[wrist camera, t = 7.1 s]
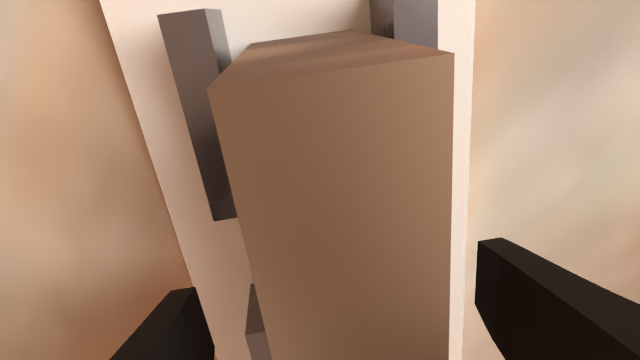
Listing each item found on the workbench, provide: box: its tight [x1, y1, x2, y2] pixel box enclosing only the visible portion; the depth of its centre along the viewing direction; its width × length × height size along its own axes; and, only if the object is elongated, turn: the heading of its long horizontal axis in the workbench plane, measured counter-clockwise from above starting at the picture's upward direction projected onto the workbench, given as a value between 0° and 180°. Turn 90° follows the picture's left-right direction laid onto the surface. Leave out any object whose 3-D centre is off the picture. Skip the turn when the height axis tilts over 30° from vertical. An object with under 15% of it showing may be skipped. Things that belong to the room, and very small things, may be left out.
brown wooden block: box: [207, 29, 455, 360], centre depth 10 cm, size 4×12×7 cm, turn 7°
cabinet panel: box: [99, 0, 476, 360], centre depth 14 cm, size 10×18×1 cm, turn 7°
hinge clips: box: [157, 0, 438, 360], centre depth 12 cm, size 6×14×2 cm, turn 7°
